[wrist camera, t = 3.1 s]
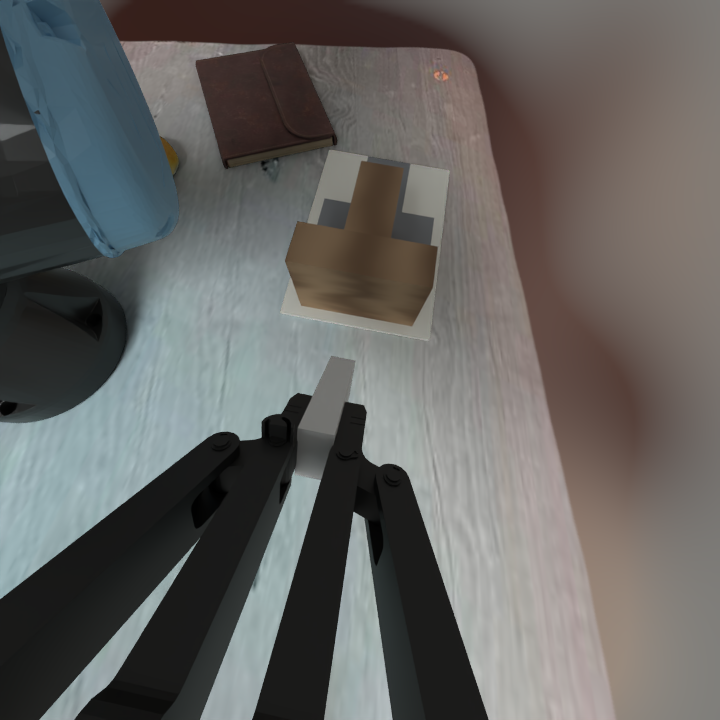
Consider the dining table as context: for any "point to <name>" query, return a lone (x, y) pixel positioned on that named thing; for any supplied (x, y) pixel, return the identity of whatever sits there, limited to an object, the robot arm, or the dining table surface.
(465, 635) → the dining table surface
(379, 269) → the t block
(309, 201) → the dining table surface
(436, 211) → the mat
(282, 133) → the notebook
